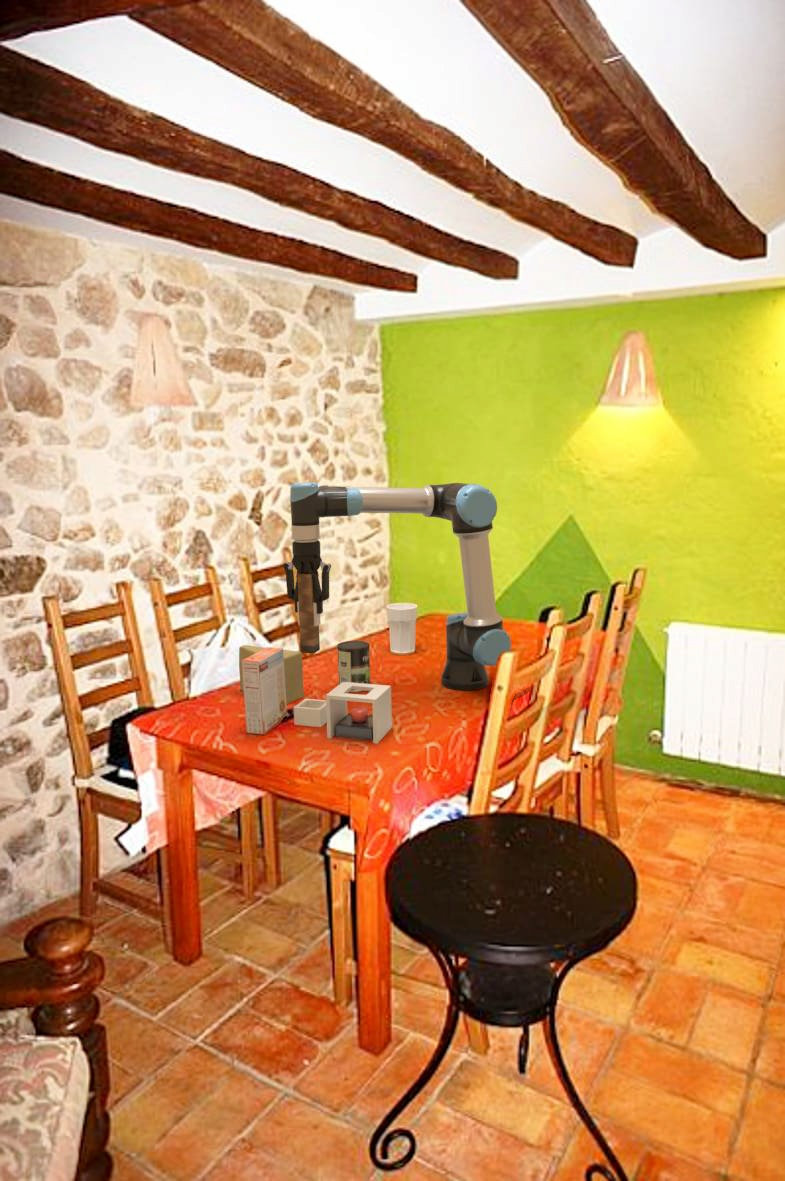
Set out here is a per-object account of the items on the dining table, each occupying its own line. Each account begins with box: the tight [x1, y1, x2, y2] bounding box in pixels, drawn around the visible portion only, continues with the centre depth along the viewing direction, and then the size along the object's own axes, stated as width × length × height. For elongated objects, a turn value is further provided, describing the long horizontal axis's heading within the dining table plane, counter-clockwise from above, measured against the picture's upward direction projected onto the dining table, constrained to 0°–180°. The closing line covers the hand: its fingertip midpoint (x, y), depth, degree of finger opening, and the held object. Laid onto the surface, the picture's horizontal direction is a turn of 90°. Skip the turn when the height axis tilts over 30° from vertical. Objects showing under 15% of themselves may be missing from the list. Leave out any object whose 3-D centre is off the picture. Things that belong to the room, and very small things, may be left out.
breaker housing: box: [335, 712, 373, 742], centre depth 217 cm, size 10×9×4 cm
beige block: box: [238, 644, 305, 705], centre depth 249 cm, size 22×10×15 cm, turn 57°
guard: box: [325, 682, 393, 745], centre depth 216 cm, size 14×12×12 cm
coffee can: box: [336, 640, 371, 693], centre depth 255 cm, size 10×10×14 cm
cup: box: [386, 602, 418, 656], centre depth 295 cm, size 11×11×17 cm
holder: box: [293, 698, 327, 728], centre depth 226 cm, size 8×8×5 cm
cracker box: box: [241, 646, 288, 736], centre depth 222 cm, size 14×6×21 cm, turn 160°
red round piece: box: [350, 706, 369, 723], centre depth 216 cm, size 5×5×6 cm
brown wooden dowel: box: [296, 573, 321, 655], centre depth 221 cm, size 4×4×22 cm
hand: (309, 624), depth 221 cm, fingers closed on brown wooden dowel, 4 cm apart
